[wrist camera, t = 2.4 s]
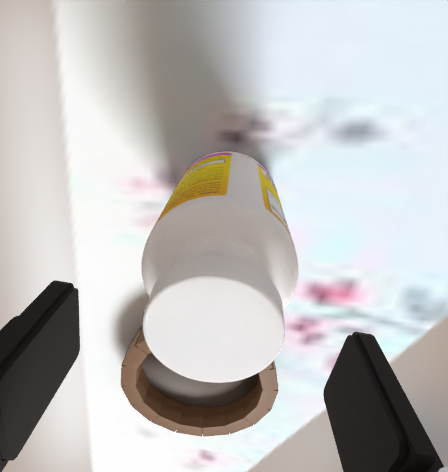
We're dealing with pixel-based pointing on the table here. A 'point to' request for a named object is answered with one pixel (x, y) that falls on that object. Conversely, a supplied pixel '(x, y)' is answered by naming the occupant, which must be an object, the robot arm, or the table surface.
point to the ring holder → (194, 395)
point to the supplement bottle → (219, 272)
